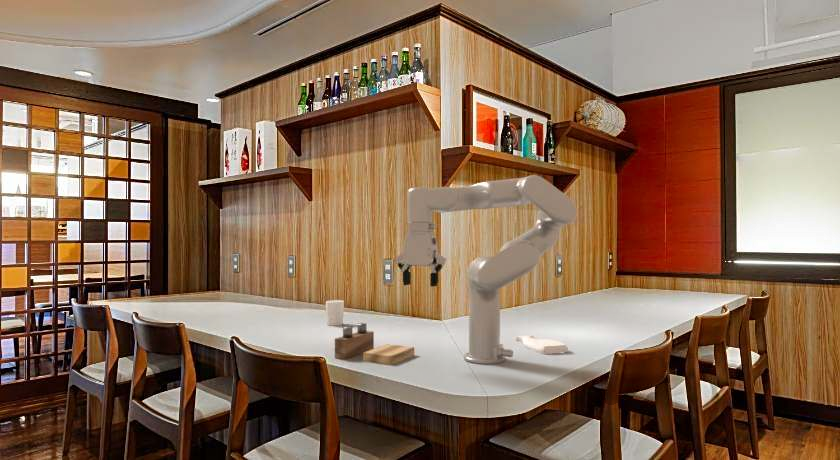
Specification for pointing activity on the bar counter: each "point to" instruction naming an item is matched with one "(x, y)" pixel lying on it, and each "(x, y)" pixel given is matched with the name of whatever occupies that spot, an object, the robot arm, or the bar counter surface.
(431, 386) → the bar counter surface
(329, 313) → the white cup
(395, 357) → the oak plate
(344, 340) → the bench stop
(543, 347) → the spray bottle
